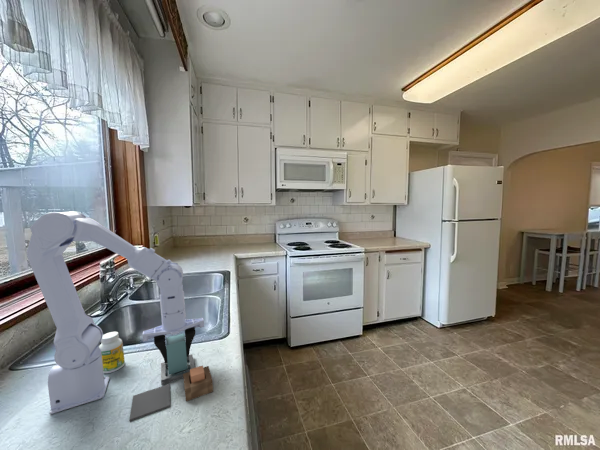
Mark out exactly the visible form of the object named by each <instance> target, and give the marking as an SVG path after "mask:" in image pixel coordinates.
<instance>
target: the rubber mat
mask: <svg viewBox="0 0 600 450" xmlns="http://www.w3.org/2000/svg"><path fill="white" fill-rule="evenodd" d="M170 386H171V385H170V383H167V384H164V385H161V386H160V387H156V388H154V389H153V388H152V389H149V390H147V391H143V392H141V393H137V394H134V395H133V396H132V402H131V406H130V407H131V408H130V413H129V414H130V415H129V419H128V420H129V422H132V421H135V420H138V419H140V418H143V417H146V416H148V415H151V414H154V413H157V412H160V411H162V410H165V409H167V408H170V407H171V394H170V393H171V391H170V389H171V387H170Z"/></svg>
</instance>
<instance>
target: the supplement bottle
mask: <svg viewBox="0 0 600 450" xmlns="http://www.w3.org/2000/svg"><path fill="white" fill-rule="evenodd" d="M119 335H120V334H119V332H118V331H110V332H107V333H103V337H102V340H101V341H100V343H101V344H100V343H99V348H100V349H101V354H102V363H103V372H104V374H110V373H114V372H116V371H119V370H120V369H121V368H123V366H125V363H126V362H125V361H126V360H125V352H124V343H123V339H122V338H120V336H119Z"/></svg>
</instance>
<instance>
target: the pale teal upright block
mask: <svg viewBox="0 0 600 450" xmlns="http://www.w3.org/2000/svg"><path fill="white" fill-rule="evenodd" d="M165 340H166V349H167V361H168V367H167V371H168V372H167V373H168V376H170V375H173V374H176V373H179V372H182V371H186V370H188V361H187V356H186V340H185V332H183V333H179V334H175V335H170V336H167V337H165Z"/></svg>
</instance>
